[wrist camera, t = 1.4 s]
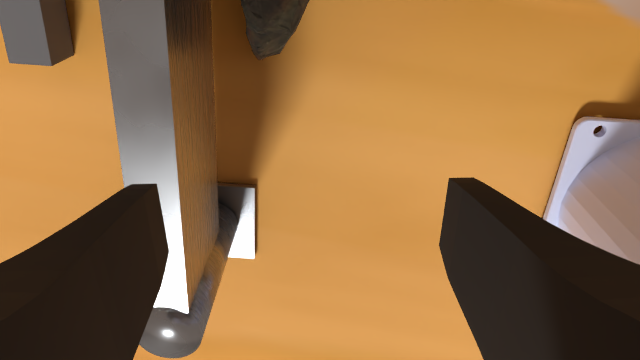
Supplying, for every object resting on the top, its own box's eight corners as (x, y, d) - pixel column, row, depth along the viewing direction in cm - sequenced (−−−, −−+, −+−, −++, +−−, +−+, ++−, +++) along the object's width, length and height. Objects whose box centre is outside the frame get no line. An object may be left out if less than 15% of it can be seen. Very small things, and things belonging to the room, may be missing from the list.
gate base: (255, 184, 23) (254, 188, 22) (255, 255, 25) (254, 258, 24) (169, 179, 23) (167, 182, 22) (175, 249, 24) (173, 253, 24)
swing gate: (237, 245, 24) (203, 360, 18) (188, 242, 24) (136, 355, 17) (228, -343, 14) (144, -556, 8) (145, -350, 14) (-4, -568, 8)
